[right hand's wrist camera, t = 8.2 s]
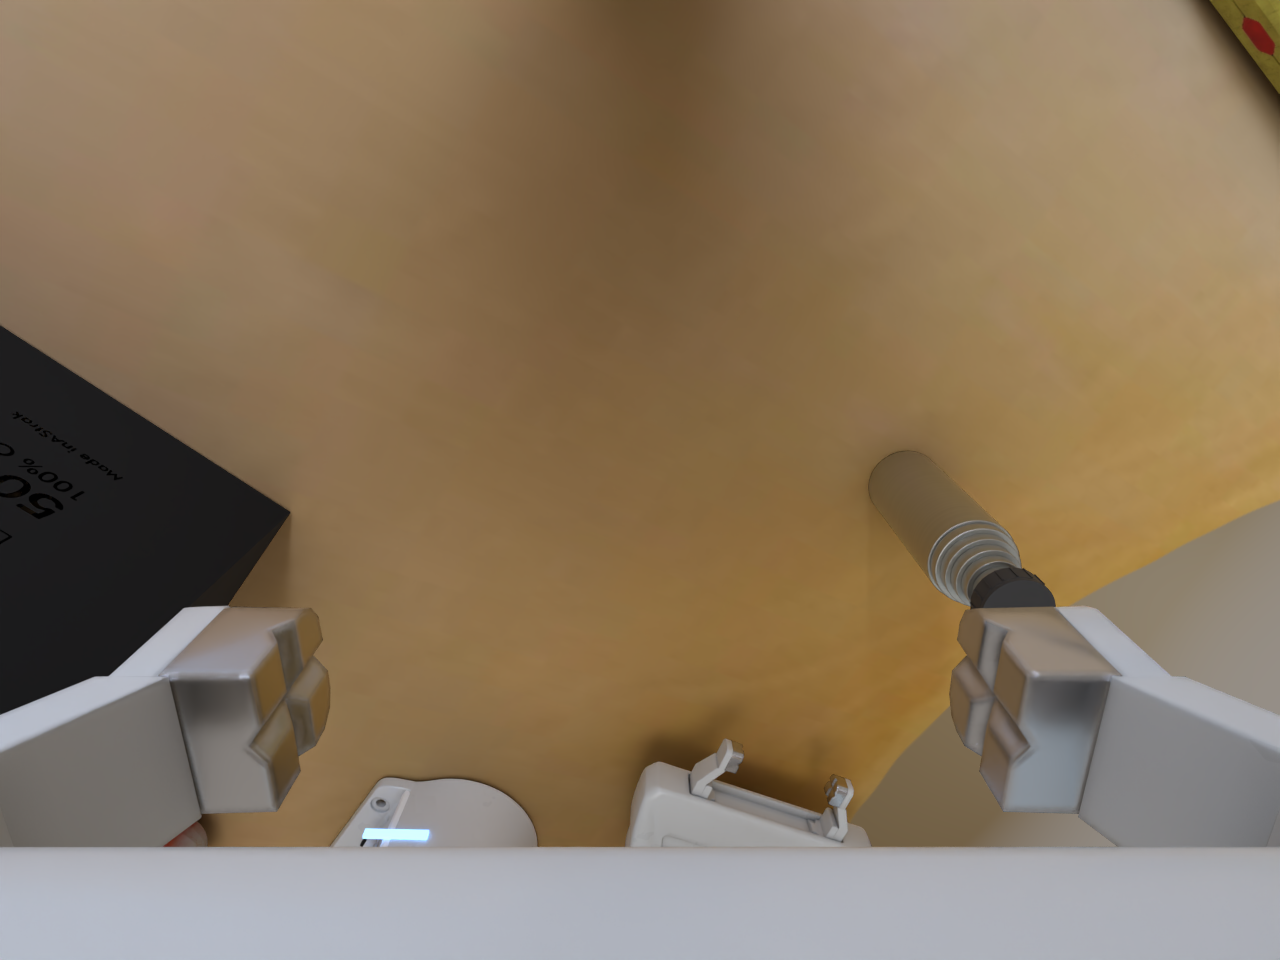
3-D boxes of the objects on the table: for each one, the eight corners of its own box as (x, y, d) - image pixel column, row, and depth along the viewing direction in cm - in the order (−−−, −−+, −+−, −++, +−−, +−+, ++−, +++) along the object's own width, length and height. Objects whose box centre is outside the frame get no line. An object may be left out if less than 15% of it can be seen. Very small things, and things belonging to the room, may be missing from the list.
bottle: (914, 436, 59) (1035, 545, 41) (952, 489, 61) (1083, 616, 43) (854, 478, 60) (946, 602, 42) (892, 529, 62) (996, 669, 44)
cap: (1020, 552, 43) (1033, 565, 41) (1055, 604, 44) (1069, 618, 42) (955, 593, 43) (967, 608, 42) (992, 643, 45) (1004, 658, 43)
